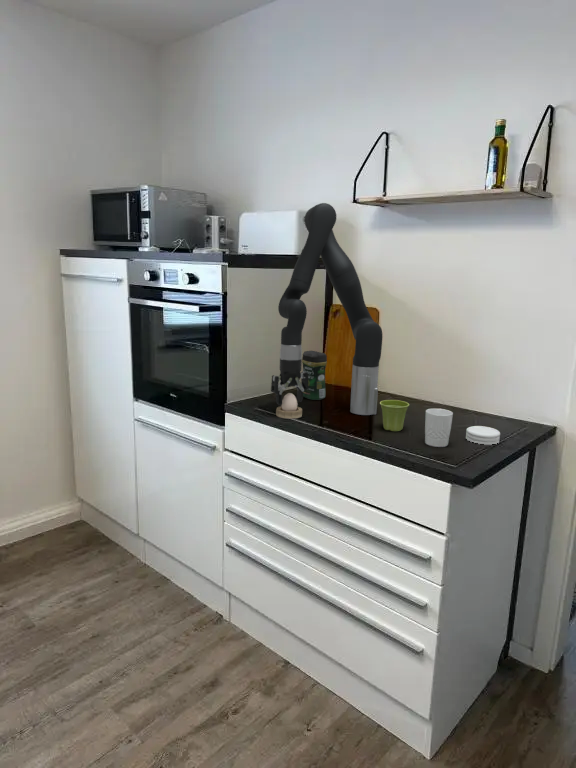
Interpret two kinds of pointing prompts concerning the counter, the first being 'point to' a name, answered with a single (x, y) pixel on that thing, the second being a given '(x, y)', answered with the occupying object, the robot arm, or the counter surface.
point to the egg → (289, 403)
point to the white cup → (437, 427)
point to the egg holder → (289, 413)
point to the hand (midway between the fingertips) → (289, 403)
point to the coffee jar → (314, 374)
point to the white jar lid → (482, 435)
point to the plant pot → (393, 414)
